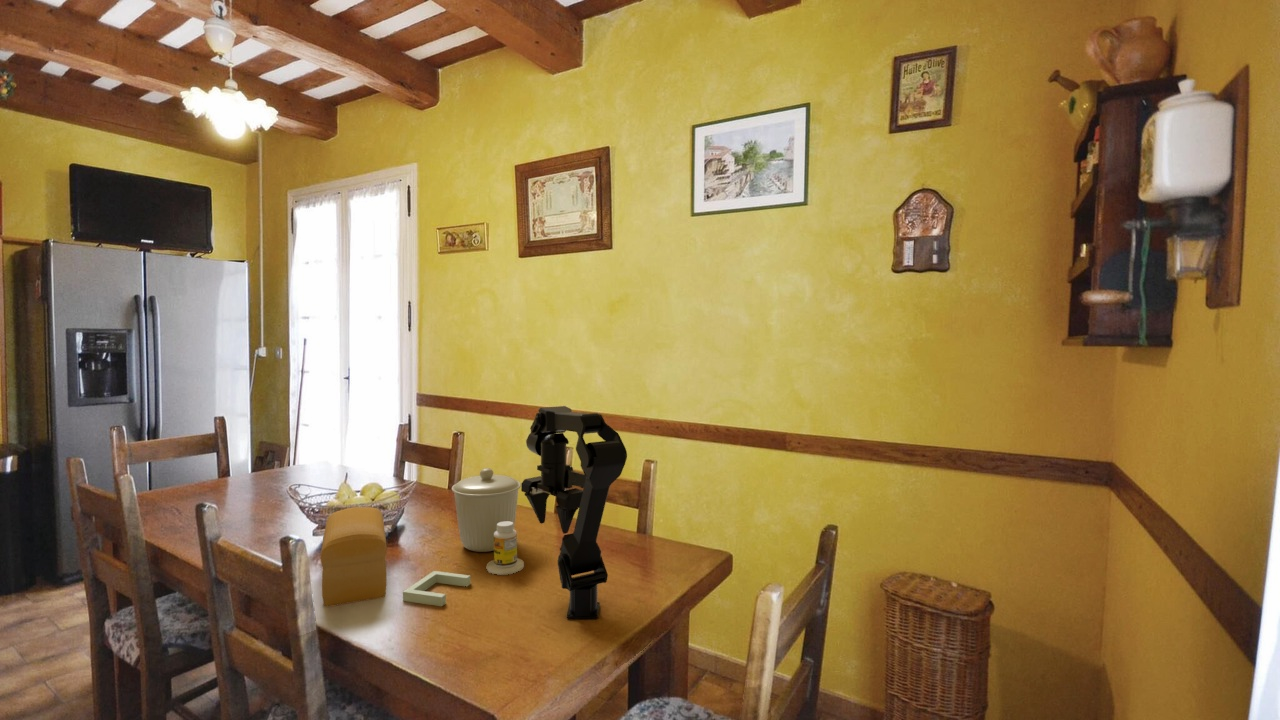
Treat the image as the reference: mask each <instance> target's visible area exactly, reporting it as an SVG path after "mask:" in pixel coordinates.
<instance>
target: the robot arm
mask: <svg viewBox="0 0 1280 720" xmlns="http://www.w3.org/2000/svg"><path fill="white" fill-rule="evenodd" d="M529 428H530V433H529V434H528V436H527V437H526V440H525V443H526V447H527V449H528V450H529V451H530V452H532V453H534V454H535V455H538V457H540V465H539V464H538V465H537V467H536V469H537V471H539V472H540V475H539V476H534V477H530V478H525V479H523V481H522V482H520V483H521V487H520V488H521V492H523V493H524V496H525V497H526V499H527V500H528V502H529V504H530V506H531V508H532V509H533V511H534V513H535V516H536V518H537V520H538V522H539V524H541V525H542V524H544V523H546V522H545V521H546V516H547V501H548V498H549V497H550V496H553V497H555V498H556V503H557V505H555V508H556V512H557V516H558V520H559V524H560V528H561V531H562V534H564V535H563V537H562V539H561V545H560V548H559V551H560V552H559V555H558V557H557V566H558V574H559V580H560V584H561V588H562V589H565V590H567V591H569V603H568V606H567V613H566V619H569V620H571V619H573V620H574V619H575V620H577V619H582V620H583V619H587V620H588V619H589V620H590V619H592V620H594V619H595V620H597V619H599V615H600V607H601V602H600V601H599V602H598V585H599V584H600V585H601V584H606V583H607V581H608V576H609V575H608V571H607V568H606V565H605V562H604V559H603V557H602V550H601V548H600V546H599V544H598V542H597V539H598V535H599V532H600V531H599V530H600V528H601V527H600V526H601V523H602V519H603V516H604V511H605V506H606V504H607V499H608V495H609V491H610V488H611V486H612V484H613V483H614V482H615V481H616V480H617V479H618V478H619V477H620V476H621V475H622V472H623V470H624V467H625V465H626V461H627V459H628V452H627V448H626V446H625V445H624V442H623V441H622V438H621V436H620V434H619V432H618V431H616V430H615V429H614V428H612V427H611V426H610V425H608V423H606V420H605V419H604V416H603V415H602V414H600V413H598V412H592V413H588V412H573V410H572V409H571V408H570V407H568V406H566V405H563V406H561V405H560V406H547V407H545V406H544V407H540V408H539V409H538V412H536V414H535V416H534V419H533V421H532V424H531V426H530V427H529ZM566 431H567V432H574V433H576V434H577V436H578V437H577V441H576V446H575V451H576V454H577V456H578V459H579V460H580V468H581V470H582V472H583V473H580V472H577V471H574V467H573V466H571V465H570V464H567V445H568V444H570V443H569V442H570V441H569V439H568V438H567V437H566V436H565V434H564V433H565V432H566ZM585 434H587V435H588V434H597V436H599V437H600V438H601V439H602V440H603V441H593V442H587V443H586V441H585V439H584V435H585ZM573 486H575V487H579V488H573ZM580 488H581V489H580ZM566 489H567V490H566ZM582 489H583V490H582ZM577 511H578V512H577ZM576 512H577V515H576V521H575V524H574V525H575V526H574V529H573V530H574V531H573V533H569V530H570V527H571V524H572V522H573V519H574V516H575V514H576ZM568 533H569V534H568ZM589 572H590V573H589ZM585 573H586V574H585ZM581 574H582V575H581ZM575 575H578V576H575ZM572 576H573V577H572Z"/></svg>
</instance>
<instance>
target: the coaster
mask: <svg viewBox="0 0 1280 720" xmlns="http://www.w3.org/2000/svg"><path fill="white" fill-rule="evenodd" d="M524 568H525V562H524V561H523V559H521V558H518V557H517V563H516V564H515V565H514V566H512V567H508V568H500V567H497V566H495V564H494V559H493V560H491V561H489V562H488V563H487V564H486V569H487V570H486V571H488V572H487V573H488V574H491V573H492V574H491V575H494V574H497V575H496V576H508V574H509V575H513V573H514V574H517V573H519V572H520V571H522V570H523V569H524ZM518 571H519V572H518ZM516 572H517V573H516Z"/></svg>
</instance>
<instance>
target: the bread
mask: <svg viewBox="0 0 1280 720" xmlns="http://www.w3.org/2000/svg"><path fill="white" fill-rule="evenodd" d="M387 550H388V548H387V539H386V530H385V522H384V515H383V513H382V511H381V509H378V508H376V507H370V506H369V507H368V506H366V507H365V506H353V507H347V508H344V509H340V510H338V511H337V510H336V511H334V512H333V513H331V514H330V515H329V516H328V517H327V519H326V522H325V528H324V533H323V540H322V546H321V550H320V563H321V565H322V572H321V573H322V575H321V596H322V602H323V605H324V607H334V606H340V605H346V604H352V603H357V602H364V601H369V600H375V599H381V598H384V597H385V596H386V594H387V585H388V583H387V561H386V556H387Z"/></svg>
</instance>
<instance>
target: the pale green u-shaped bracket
mask: <svg viewBox="0 0 1280 720" xmlns="http://www.w3.org/2000/svg"><path fill="white" fill-rule="evenodd" d="M435 584H444V585H451V586H459V587H465V586H466V587H465V588H468V587H469V586H470V585H472V584H471V575H469V574H468V575H467V574H462V573H455V572H454V573H452V572H447V571H440V570H439V571H438V570H433V571H432V572H430V573H429V574H427V575H426V576H424V577H423V578H422V579H419V580H418V581H416V583H413V584H412V585H411V586H409V587H408V588H406V589H405V590H403V591H402V602H403V601H404V602H409V603H416V604H423V605H430V606H435V607H443V606H444V605H446V604H447V602H446V600H447V599H446V598H447V597H446V596H447V595H446V593H439V592H433V591H426V590H428V589H429V588H431V587H432V586H434V585H435Z"/></svg>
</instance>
